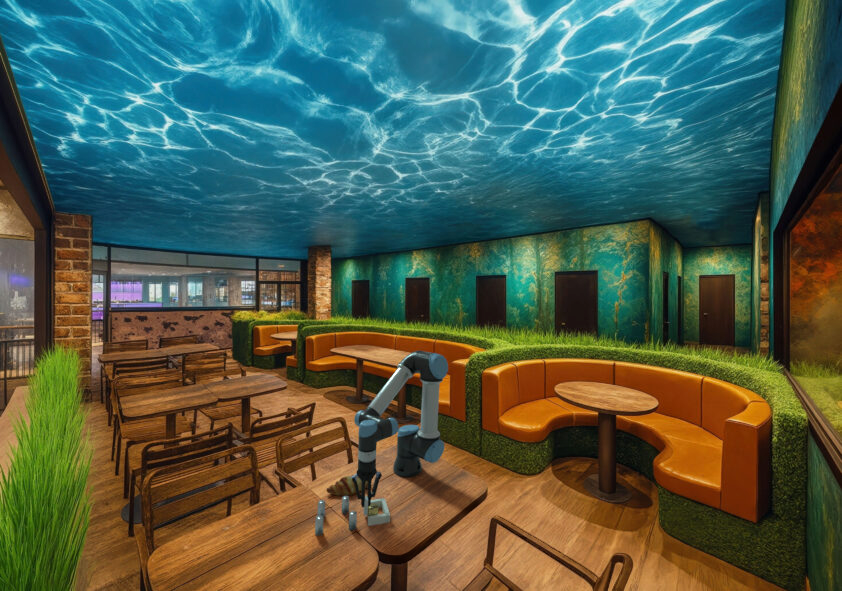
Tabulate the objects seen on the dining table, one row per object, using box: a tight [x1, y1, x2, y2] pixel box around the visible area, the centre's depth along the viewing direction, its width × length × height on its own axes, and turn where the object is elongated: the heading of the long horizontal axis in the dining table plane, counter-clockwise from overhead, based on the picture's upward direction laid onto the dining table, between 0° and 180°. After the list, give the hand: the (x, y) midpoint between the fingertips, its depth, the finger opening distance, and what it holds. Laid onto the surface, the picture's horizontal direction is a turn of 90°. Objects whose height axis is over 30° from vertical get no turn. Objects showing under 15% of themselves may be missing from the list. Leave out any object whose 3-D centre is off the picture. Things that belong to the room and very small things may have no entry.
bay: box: [367, 497, 391, 527], centre depth 148 cm, size 12×9×3 cm
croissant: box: [326, 475, 368, 497], centre depth 165 cm, size 21×10×8 cm, turn 115°
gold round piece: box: [366, 504, 379, 518], centre depth 147 cm, size 5×5×4 cm
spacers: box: [314, 495, 358, 537], centre depth 143 cm, size 14×16×6 cm
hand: (365, 513), depth 146 cm, fingers closed
